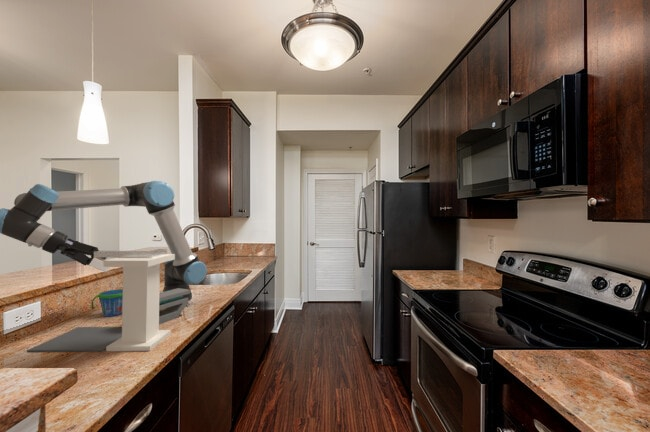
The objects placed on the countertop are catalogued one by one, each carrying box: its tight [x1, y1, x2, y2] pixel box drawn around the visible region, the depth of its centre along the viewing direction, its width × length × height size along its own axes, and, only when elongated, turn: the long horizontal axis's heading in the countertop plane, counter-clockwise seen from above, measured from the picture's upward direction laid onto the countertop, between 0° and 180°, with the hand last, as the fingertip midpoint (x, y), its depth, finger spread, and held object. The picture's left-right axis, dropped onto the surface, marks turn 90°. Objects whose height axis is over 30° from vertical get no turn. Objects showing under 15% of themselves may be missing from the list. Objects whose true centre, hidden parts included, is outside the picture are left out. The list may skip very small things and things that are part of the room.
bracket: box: [94, 248, 168, 258], centre depth 104 cm, size 20×10×2 cm, turn 90°
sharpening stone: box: [159, 288, 192, 325], centre depth 122 cm, size 25×8×11 cm, turn 156°
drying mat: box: [26, 326, 122, 353], centre depth 103 cm, size 24×20×1 cm
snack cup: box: [90, 288, 123, 318], centre depth 130 cm, size 16×10×10 cm
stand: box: [102, 253, 175, 352], centre depth 101 cm, size 14×18×30 cm
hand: (112, 265), depth 112 cm, fingers open, 13 cm apart
